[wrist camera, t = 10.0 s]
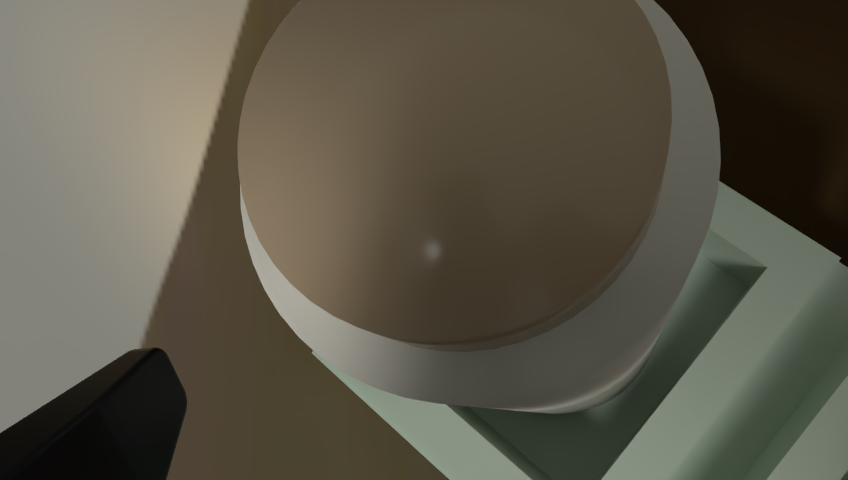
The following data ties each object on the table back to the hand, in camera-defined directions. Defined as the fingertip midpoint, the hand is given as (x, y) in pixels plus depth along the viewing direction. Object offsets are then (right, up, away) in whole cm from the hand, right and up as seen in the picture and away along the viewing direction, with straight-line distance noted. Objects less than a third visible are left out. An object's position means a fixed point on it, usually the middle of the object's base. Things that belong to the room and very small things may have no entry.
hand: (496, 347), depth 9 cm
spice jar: (+3, -1, +10) cm, 10 cm away
